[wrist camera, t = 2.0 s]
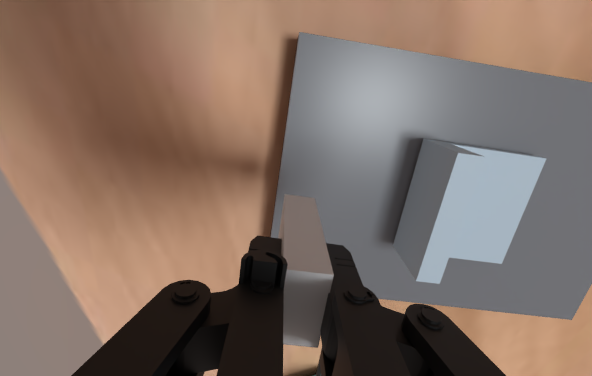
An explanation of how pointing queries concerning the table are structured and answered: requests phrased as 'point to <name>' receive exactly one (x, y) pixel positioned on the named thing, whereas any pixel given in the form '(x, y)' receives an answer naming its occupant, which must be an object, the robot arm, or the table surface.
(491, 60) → the table surface
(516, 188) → the light blue l-shaped block
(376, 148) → the socket block
